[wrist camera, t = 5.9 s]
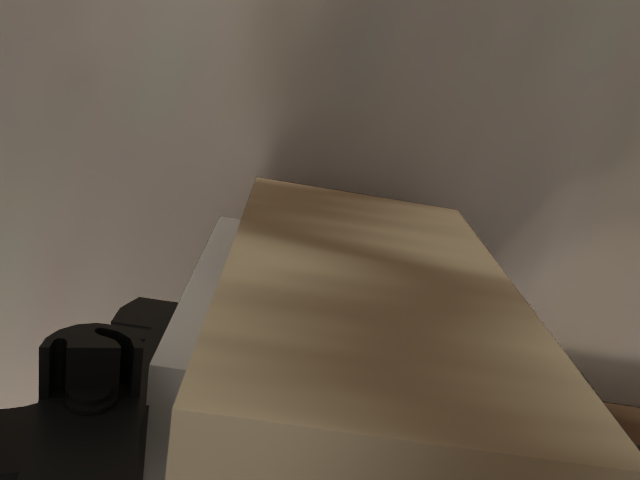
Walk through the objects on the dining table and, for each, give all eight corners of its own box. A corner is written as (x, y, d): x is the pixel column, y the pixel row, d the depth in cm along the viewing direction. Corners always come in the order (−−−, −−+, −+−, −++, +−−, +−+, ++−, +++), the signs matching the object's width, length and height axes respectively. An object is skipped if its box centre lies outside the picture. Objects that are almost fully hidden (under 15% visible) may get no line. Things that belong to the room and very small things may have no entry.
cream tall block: (232, 354, 16) (124, 791, 7) (256, 176, 14) (156, 450, 5) (411, 380, 16) (535, 828, 7) (457, 210, 14) (692, 520, 5)
